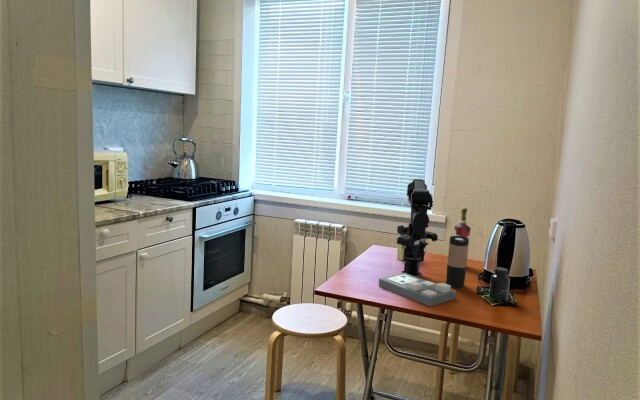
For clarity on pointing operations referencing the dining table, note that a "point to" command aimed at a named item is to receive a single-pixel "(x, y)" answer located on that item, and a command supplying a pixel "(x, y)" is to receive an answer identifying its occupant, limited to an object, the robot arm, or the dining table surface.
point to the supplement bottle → (499, 284)
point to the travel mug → (457, 261)
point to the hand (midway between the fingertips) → (415, 259)
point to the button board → (400, 286)
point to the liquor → (462, 226)
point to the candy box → (400, 250)
